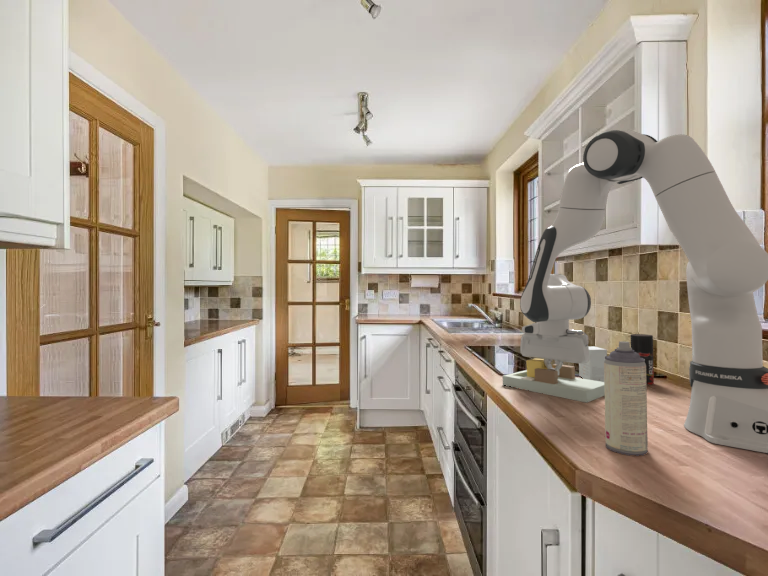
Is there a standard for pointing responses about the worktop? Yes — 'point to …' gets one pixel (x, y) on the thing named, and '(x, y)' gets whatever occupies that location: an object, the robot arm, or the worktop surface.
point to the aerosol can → (625, 401)
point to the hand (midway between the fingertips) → (553, 374)
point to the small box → (594, 365)
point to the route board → (557, 383)
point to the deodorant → (644, 353)
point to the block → (534, 366)
